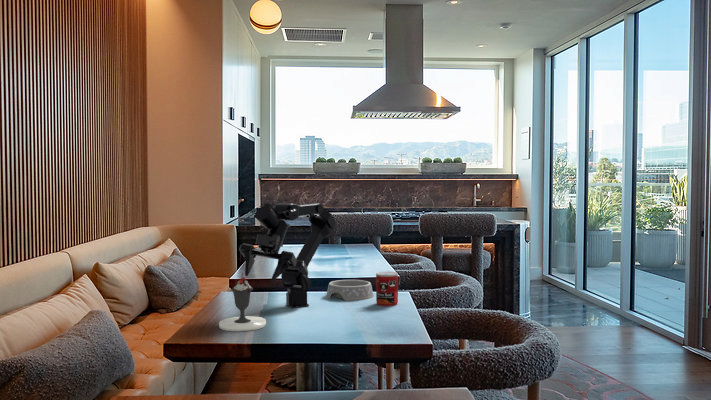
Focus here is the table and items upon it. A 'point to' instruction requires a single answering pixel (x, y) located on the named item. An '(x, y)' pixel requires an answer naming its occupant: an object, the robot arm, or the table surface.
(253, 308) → the table surface
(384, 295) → the canned food
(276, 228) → the robot arm
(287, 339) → the table surface
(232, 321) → the saucer
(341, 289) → the dog bowl
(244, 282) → the sundae
